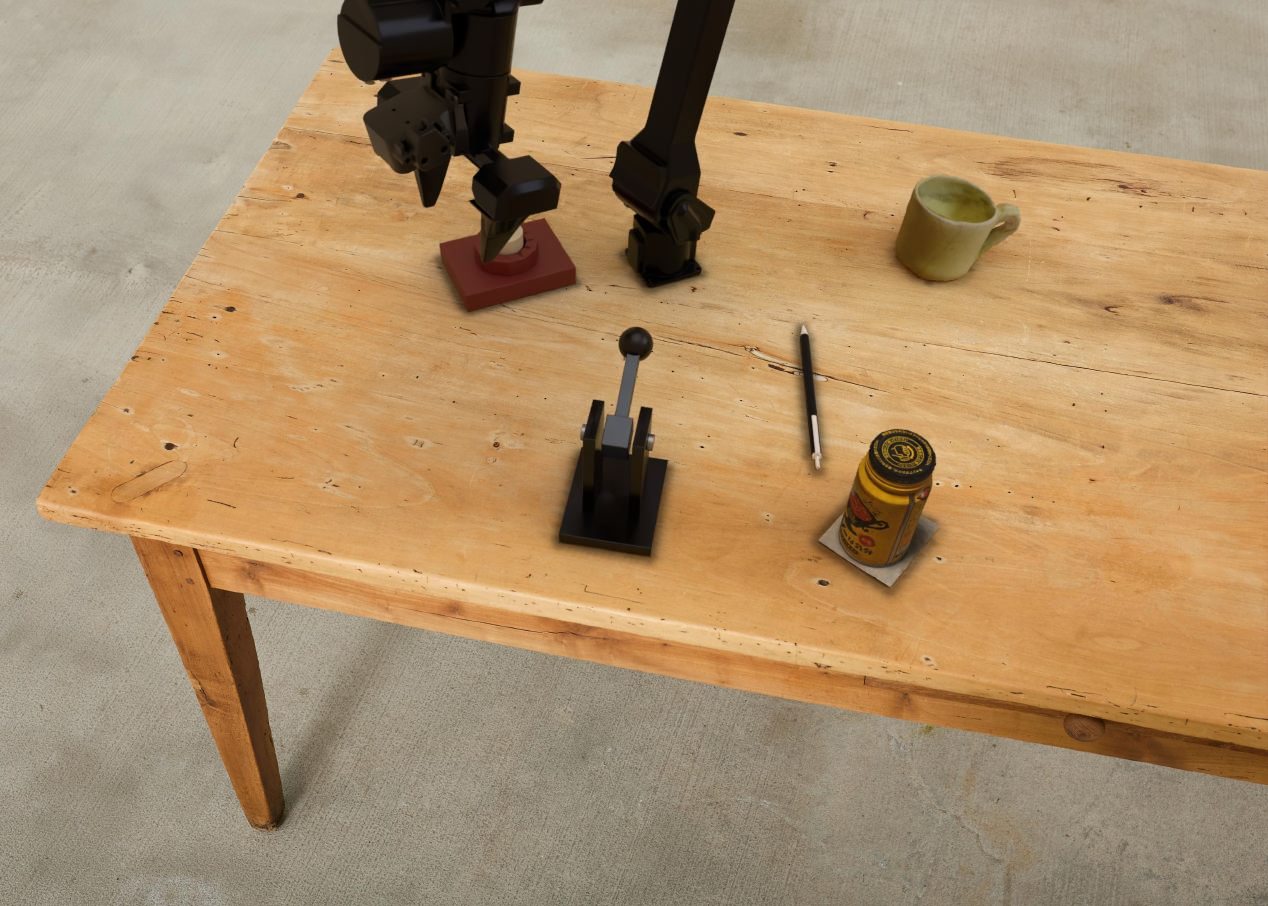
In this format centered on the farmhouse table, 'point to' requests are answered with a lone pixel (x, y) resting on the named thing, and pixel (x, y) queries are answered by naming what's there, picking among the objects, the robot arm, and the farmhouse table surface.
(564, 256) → the button housing
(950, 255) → the mug
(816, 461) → the pen
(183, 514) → the farmhouse table surface
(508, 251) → the button
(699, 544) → the farmhouse table surface
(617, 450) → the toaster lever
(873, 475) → the condiment
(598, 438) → the lever bracket
